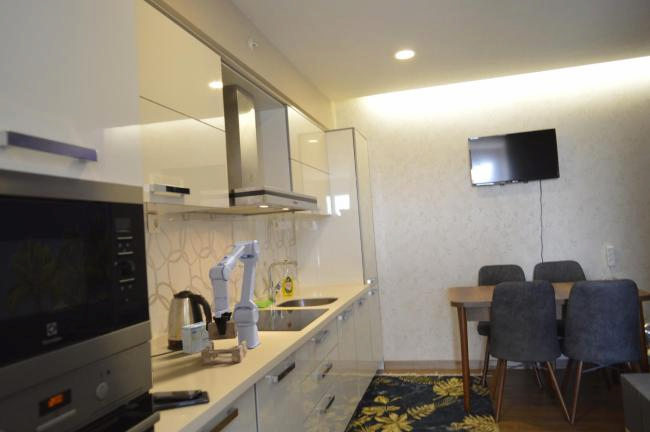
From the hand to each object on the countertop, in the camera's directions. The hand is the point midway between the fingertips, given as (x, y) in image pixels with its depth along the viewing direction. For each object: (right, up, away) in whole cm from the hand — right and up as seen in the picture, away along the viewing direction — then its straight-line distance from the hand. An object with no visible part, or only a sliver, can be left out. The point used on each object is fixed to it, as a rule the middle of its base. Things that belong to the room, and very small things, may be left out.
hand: (223, 333), depth 179 cm
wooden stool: (+1, -9, 0) cm, 10 cm away
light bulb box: (-14, -11, +17) cm, 25 cm away
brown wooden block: (0, -2, 0) cm, 2 cm away
